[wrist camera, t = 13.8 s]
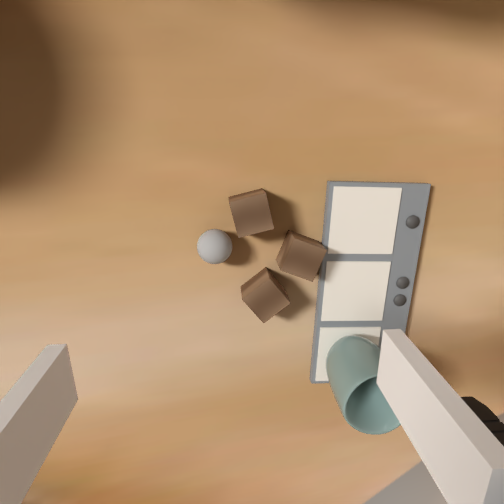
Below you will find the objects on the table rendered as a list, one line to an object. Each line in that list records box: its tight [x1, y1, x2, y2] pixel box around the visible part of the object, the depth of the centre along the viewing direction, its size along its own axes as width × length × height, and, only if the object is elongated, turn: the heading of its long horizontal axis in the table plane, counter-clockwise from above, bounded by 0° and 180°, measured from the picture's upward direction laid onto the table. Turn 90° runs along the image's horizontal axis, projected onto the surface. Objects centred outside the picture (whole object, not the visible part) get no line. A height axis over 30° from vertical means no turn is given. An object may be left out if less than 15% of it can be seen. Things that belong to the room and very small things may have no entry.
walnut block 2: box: [241, 267, 290, 323], centre depth 43 cm, size 4×4×4 cm
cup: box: [326, 335, 401, 434], centre depth 42 cm, size 8×8×10 cm
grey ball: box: [197, 229, 232, 264], centre depth 41 cm, size 4×4×4 cm
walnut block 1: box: [229, 189, 274, 238], centre depth 40 cm, size 4×4×4 cm
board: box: [310, 181, 431, 383], centre depth 45 cm, size 27×12×1 cm, turn 178°
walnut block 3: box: [276, 230, 327, 282], centre depth 42 cm, size 4×4×4 cm
